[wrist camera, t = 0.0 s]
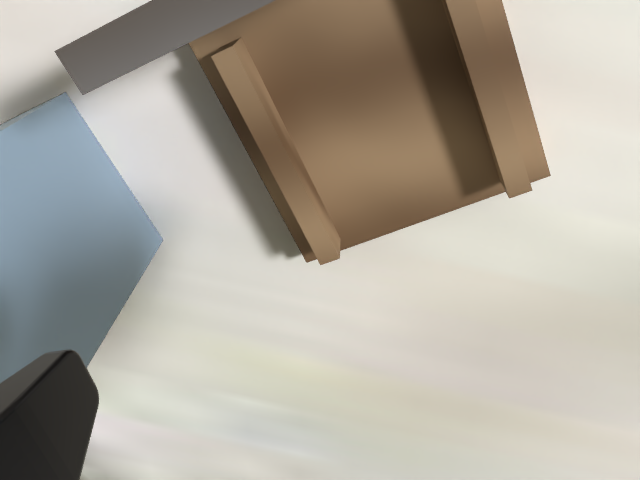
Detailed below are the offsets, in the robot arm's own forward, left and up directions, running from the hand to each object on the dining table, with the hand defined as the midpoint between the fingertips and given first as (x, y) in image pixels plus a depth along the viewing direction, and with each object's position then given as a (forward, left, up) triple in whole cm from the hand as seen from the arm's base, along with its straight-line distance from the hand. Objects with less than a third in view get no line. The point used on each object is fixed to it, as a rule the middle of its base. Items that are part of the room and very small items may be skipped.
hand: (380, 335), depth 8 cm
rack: (0, 0, -15) cm, 15 cm away
